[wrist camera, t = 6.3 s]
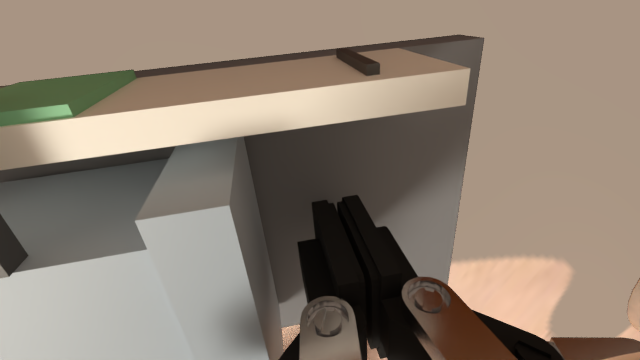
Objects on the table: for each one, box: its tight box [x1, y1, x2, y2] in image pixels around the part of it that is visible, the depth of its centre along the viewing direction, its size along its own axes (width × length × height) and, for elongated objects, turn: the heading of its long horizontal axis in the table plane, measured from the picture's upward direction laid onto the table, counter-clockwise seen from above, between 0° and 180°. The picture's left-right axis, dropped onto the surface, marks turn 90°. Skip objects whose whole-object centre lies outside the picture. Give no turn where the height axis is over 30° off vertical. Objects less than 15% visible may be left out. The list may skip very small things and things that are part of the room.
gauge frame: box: [0, 35, 484, 328], centre depth 9 cm, size 25×12×10 cm, turn 95°
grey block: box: [0, 136, 284, 360], centre depth 9 cm, size 8×12×5 cm, turn 5°
